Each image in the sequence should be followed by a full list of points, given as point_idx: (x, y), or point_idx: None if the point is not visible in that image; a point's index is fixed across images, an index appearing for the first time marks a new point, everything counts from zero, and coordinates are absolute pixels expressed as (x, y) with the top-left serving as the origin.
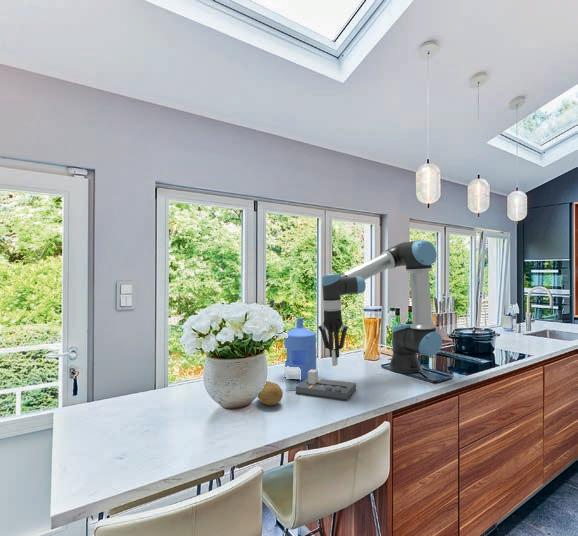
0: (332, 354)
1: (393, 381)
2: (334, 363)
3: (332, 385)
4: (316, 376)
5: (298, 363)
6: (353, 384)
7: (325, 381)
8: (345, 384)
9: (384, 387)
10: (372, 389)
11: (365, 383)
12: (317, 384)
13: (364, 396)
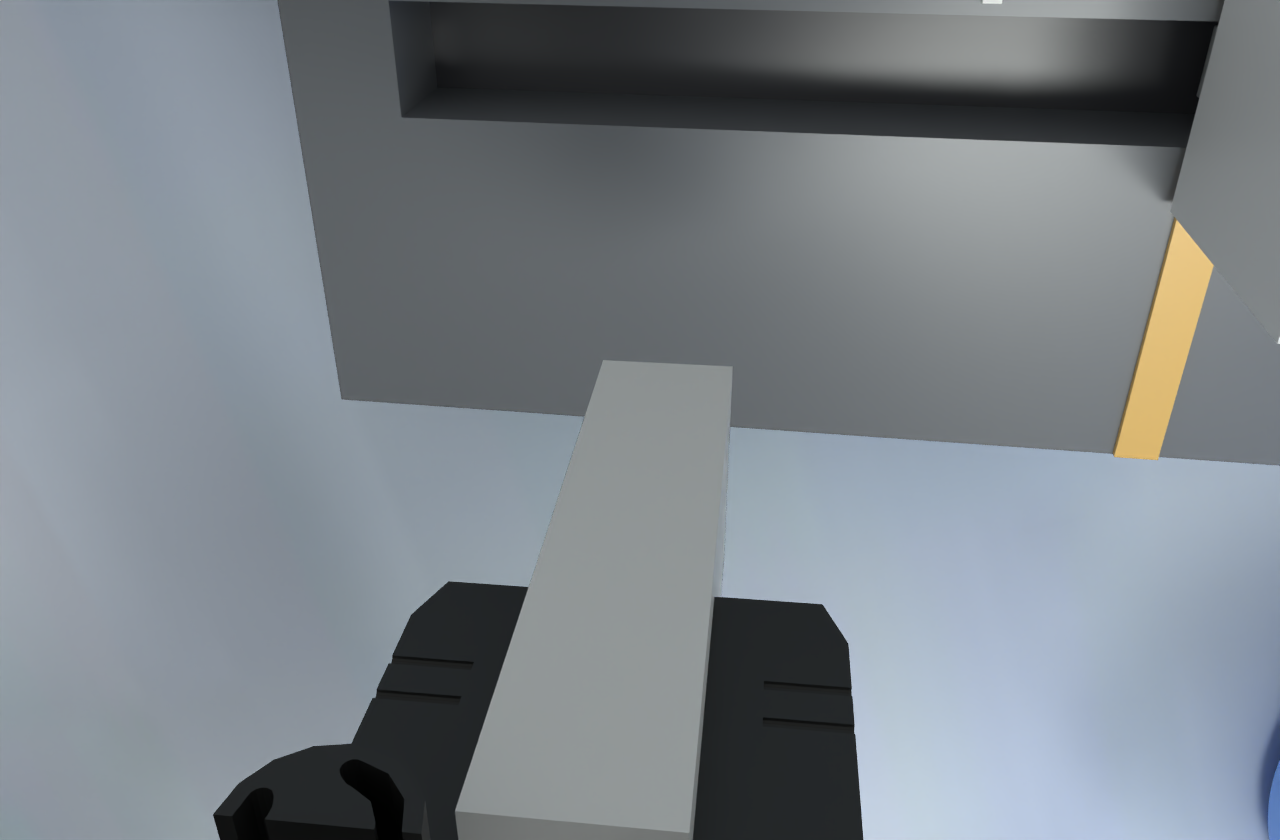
0: (669, 646)
1: (85, 801)
2: (636, 403)
3: (763, 128)
4: (1251, 160)
5: None
6: (346, 301)
7: (984, 315)
8: (494, 250)
9: (66, 568)
10: (171, 443)
11: (378, 662)
12: (1160, 133)
13: (120, 54)
